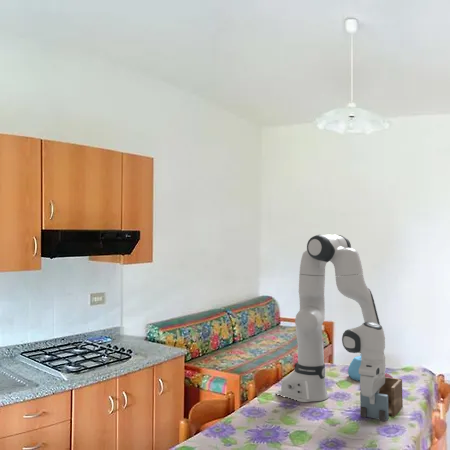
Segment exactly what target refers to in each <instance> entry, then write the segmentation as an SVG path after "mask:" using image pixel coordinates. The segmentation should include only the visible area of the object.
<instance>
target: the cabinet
mask: <svg viewBox="0 0 450 450" xmlns="http://www.w3.org/2000/svg"><path fill="white" fill-rule="evenodd" d="M359 390H360V392H361V386H360V389H359ZM379 394H386V395H388V412H389V416H391V417H393V418H395V417H396V416H397V415H398V413H399V412H400V411H401V410H402V408H403V379H402V378H395V377H393V378H390V377H385V384H384V385H383V386H382V387H381V388H380V391H379ZM360 417H361V418H367V408H365V407H361V406H360ZM380 421H381V422H385V421H386V420H385V411H382V410H379V422H380Z"/></svg>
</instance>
